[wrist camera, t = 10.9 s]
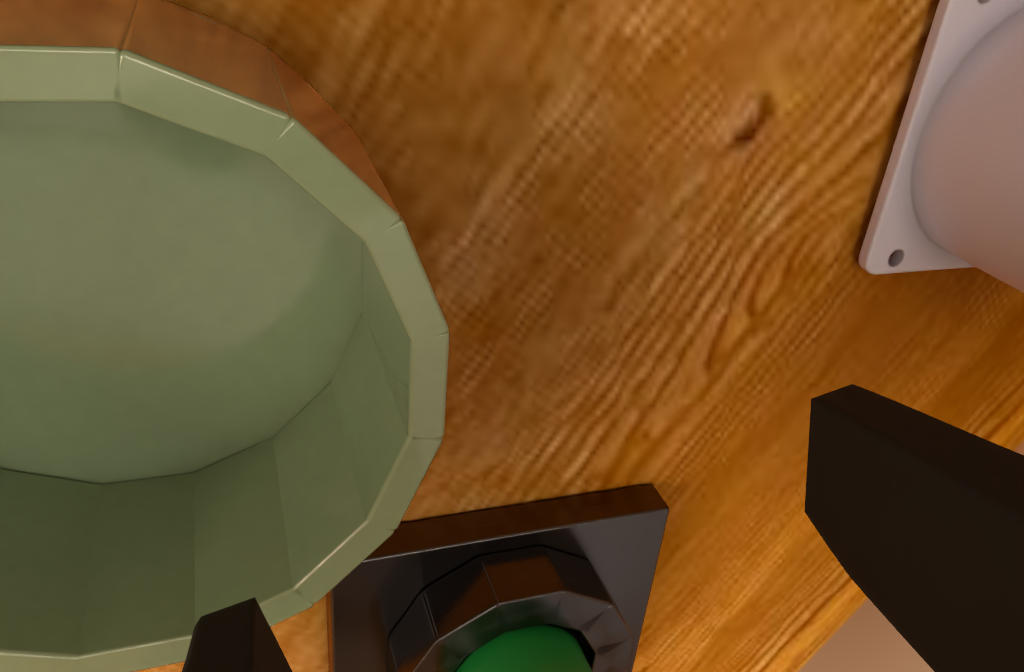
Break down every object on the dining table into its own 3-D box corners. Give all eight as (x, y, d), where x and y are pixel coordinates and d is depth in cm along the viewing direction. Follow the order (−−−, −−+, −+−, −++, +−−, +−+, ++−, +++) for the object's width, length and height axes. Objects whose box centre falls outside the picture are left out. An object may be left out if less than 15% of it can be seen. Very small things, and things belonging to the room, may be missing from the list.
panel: (652, 482, 26) (700, 550, 23) (615, 658, 30) (653, 732, 27) (323, 534, 22) (340, 619, 20) (330, 723, 26) (344, 813, 24)
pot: (392, -3, 16) (466, 56, 12) (387, 458, 22) (435, 613, 17) (-342, -35, 13) (-624, 31, 8) (-126, 526, 18) (-226, 743, 14)
